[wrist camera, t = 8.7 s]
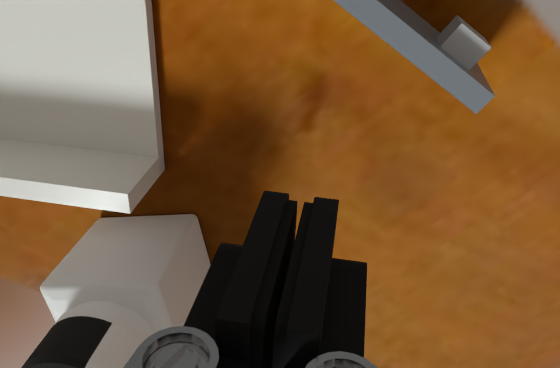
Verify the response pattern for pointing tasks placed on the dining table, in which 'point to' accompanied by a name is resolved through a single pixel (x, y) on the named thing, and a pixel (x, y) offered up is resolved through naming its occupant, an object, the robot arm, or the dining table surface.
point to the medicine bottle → (121, 289)
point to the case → (79, 102)
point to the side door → (430, 47)
